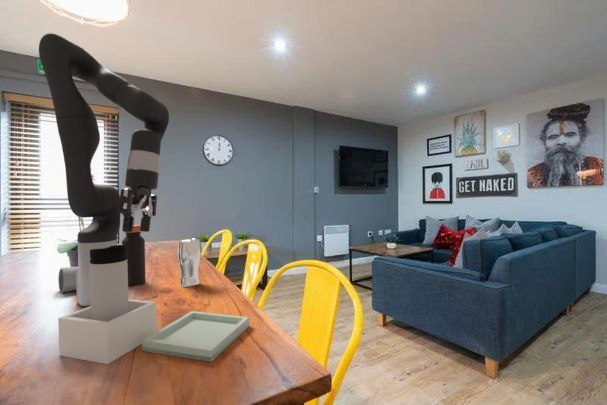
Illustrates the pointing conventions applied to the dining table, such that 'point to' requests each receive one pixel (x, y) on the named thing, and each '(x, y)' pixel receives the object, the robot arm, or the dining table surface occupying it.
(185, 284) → the beer glass
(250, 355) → the dining table surface
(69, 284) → the ceramic mug
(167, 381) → the dining table surface
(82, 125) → the robot arm
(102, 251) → the travel mug
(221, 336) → the tray
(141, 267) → the bottle
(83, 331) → the holder
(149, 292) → the dining table surface
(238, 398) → the dining table surface
